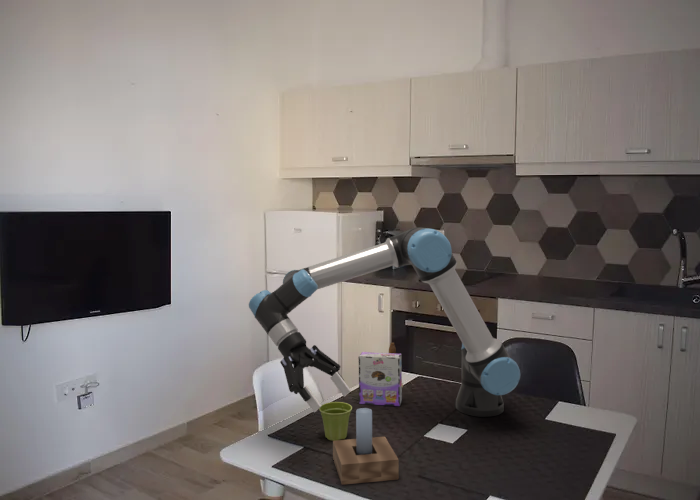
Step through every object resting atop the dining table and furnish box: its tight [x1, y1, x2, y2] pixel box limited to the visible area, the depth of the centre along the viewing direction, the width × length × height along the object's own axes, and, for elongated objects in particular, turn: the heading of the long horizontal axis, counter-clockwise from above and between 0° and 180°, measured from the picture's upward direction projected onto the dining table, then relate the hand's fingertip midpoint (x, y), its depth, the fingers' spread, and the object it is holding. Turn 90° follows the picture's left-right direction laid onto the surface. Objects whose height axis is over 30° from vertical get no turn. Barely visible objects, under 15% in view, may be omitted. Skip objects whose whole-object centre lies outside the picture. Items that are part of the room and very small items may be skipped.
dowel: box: [355, 407, 373, 455], centre depth 148 cm, size 4×4×14 cm
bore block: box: [332, 436, 400, 486], centre depth 148 cm, size 14×14×5 cm
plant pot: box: [318, 401, 353, 442], centre depth 168 cm, size 9×9×9 cm
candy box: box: [357, 351, 403, 407], centre depth 196 cm, size 14×6×16 cm, turn 77°
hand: (333, 401), depth 156 cm, fingers open, 13 cm apart
